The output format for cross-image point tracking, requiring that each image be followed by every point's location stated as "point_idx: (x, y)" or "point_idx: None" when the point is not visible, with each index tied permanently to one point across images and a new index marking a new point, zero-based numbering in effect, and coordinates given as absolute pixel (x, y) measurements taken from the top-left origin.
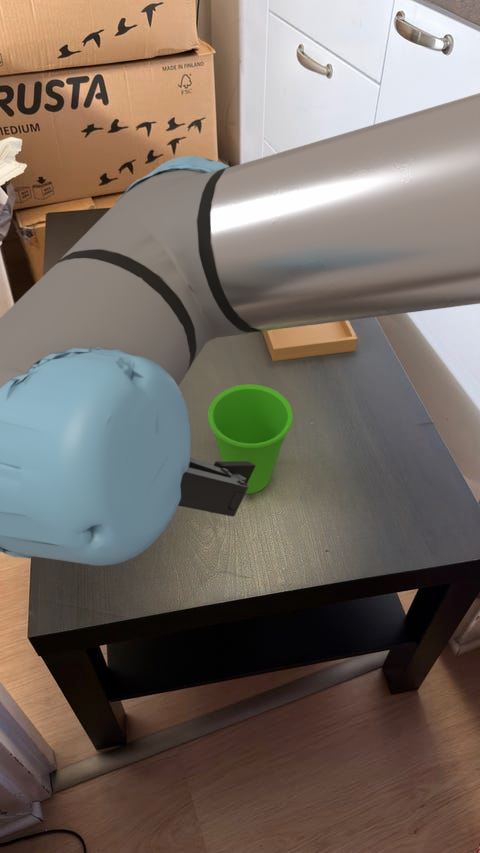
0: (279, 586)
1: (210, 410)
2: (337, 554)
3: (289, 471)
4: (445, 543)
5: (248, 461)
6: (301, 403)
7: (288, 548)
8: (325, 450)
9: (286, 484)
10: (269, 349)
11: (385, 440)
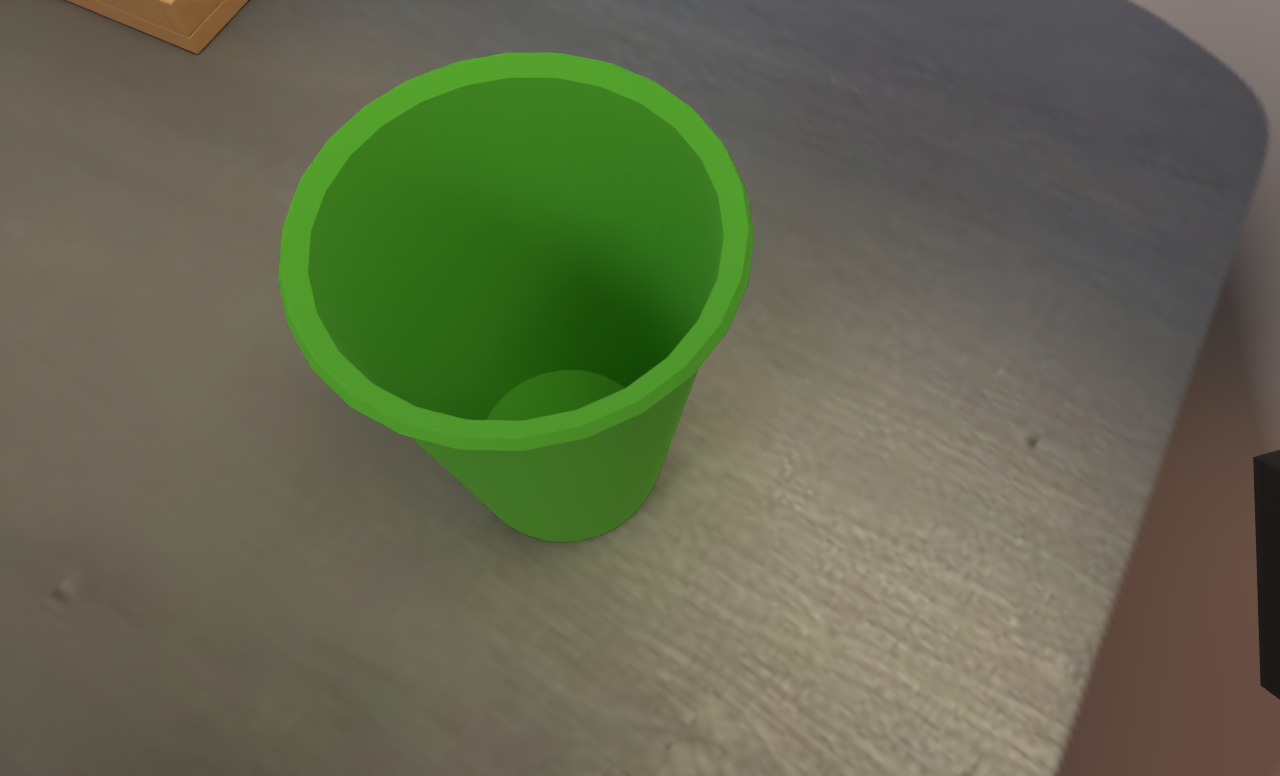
0: (1076, 689)
1: (335, 370)
2: (1066, 422)
3: None
4: (1207, 134)
5: (1263, 459)
6: None
7: (945, 547)
8: None
9: None
10: (147, 26)
11: (759, 10)
